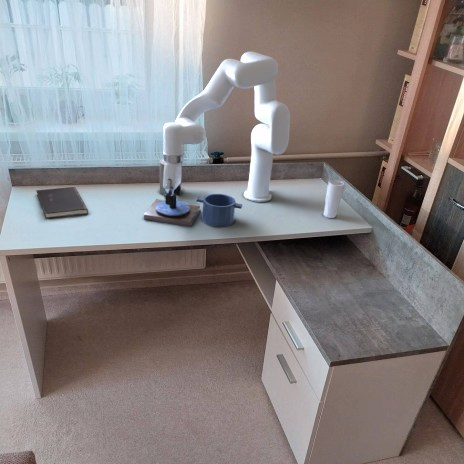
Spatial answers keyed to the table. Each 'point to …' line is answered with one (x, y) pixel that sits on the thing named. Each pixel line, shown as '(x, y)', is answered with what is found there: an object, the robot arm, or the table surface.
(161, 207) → the lid
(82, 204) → the hardcover book
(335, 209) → the white cylinder
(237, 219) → the table surface
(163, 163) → the pillar candle
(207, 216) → the pot
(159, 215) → the board
